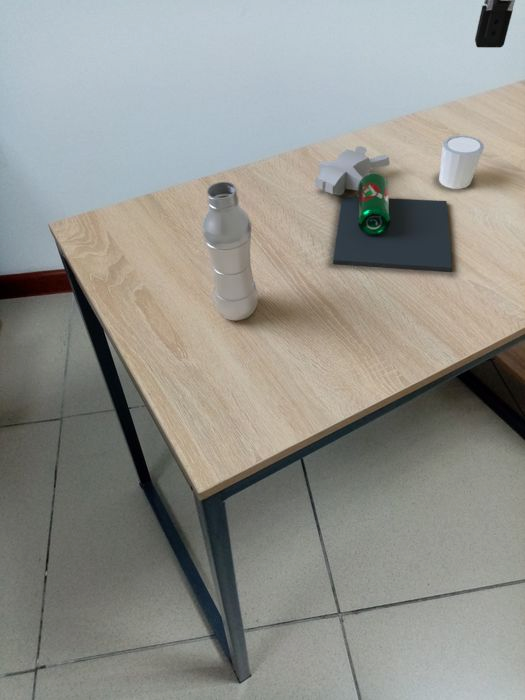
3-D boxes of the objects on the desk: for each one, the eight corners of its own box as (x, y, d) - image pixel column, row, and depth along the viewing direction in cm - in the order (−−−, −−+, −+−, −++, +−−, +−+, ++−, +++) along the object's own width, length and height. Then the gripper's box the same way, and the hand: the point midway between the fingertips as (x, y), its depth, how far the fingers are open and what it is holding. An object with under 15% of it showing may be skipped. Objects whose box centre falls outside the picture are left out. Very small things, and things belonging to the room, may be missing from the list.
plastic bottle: (211, 325, 76) (188, 205, 61) (220, 293, 81) (201, 174, 66) (255, 327, 76) (243, 207, 61) (262, 295, 80) (252, 175, 65)
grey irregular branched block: (303, 165, 94) (355, 133, 101) (303, 191, 98) (353, 158, 104) (346, 183, 89) (397, 148, 96) (344, 209, 93) (394, 174, 100)
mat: (445, 204, 93) (446, 200, 92) (451, 271, 81) (452, 267, 80) (341, 199, 95) (342, 195, 95) (332, 263, 84) (333, 259, 83)
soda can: (379, 241, 87) (377, 200, 95) (396, 218, 83) (393, 177, 91) (352, 230, 86) (352, 189, 94) (368, 206, 82) (367, 165, 90)
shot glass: (428, 182, 98) (435, 145, 92) (448, 166, 101) (456, 131, 95) (461, 195, 94) (470, 158, 89) (481, 178, 97) (491, 142, 92)
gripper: (489, -171, 56) (453, 23, 70) (506, -151, 47) (460, 69, 60) (565, -175, 55) (513, 23, 69) (599, -156, 45) (530, 70, 59)
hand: (488, 44), depth 64 cm, fingers closed
